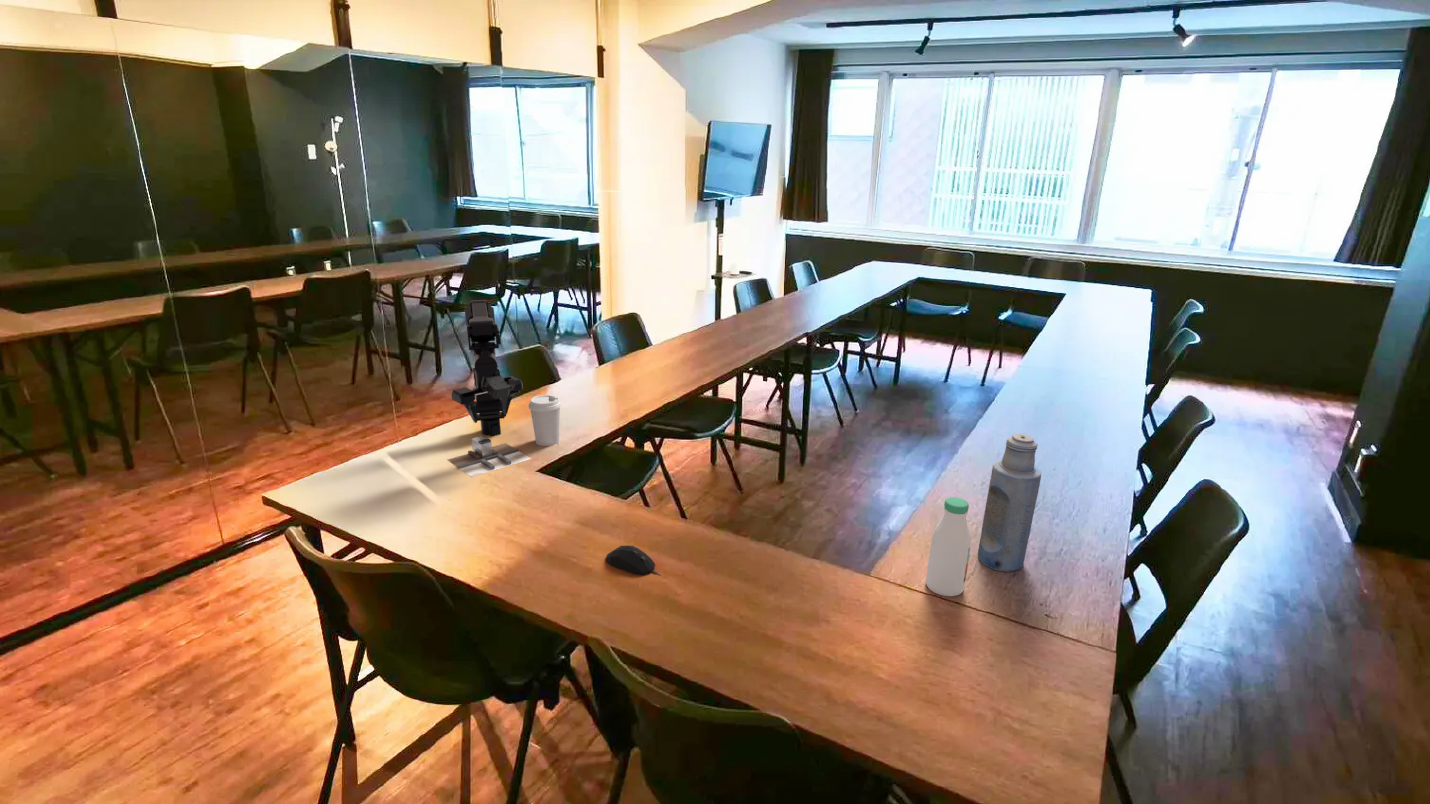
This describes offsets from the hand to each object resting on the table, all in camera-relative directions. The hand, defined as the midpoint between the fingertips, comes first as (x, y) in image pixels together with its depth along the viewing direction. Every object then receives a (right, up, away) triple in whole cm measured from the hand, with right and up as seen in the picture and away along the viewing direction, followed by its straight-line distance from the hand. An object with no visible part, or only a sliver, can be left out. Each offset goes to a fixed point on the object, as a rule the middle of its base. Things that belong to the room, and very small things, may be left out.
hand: (490, 418), depth 200 cm
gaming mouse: (+46, -32, -45) cm, 72 cm away
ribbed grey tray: (-1, -13, +2) cm, 13 cm away
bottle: (+127, -31, -41) cm, 137 cm away
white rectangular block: (-4, -11, +4) cm, 12 cm away
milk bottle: (+111, -34, -51) cm, 127 cm away
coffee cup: (+13, -9, +15) cm, 21 cm away
